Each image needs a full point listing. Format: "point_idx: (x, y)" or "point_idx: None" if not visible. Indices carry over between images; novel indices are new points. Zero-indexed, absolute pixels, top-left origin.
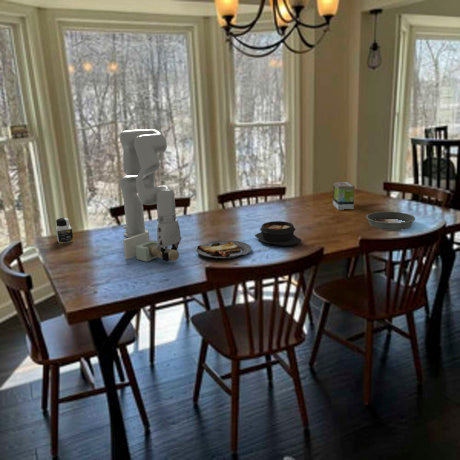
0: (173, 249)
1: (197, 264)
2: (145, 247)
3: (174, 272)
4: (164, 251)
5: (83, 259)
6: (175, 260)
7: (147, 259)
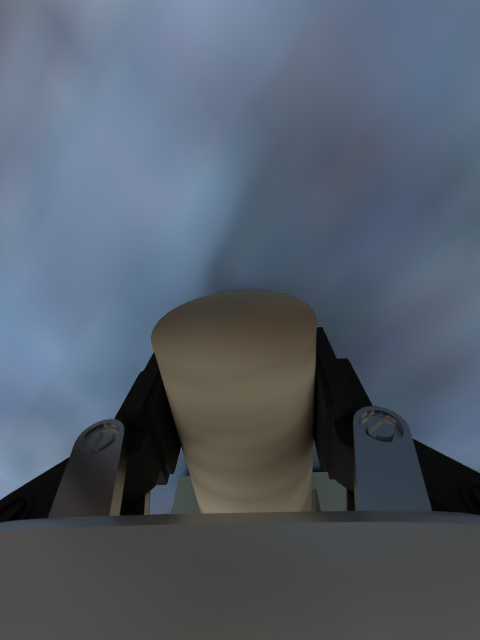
0: (164, 438)
1: (53, 12)
2: None
3: (471, 46)
4: (408, 441)
5: None
6: (235, 292)
7: (339, 485)
